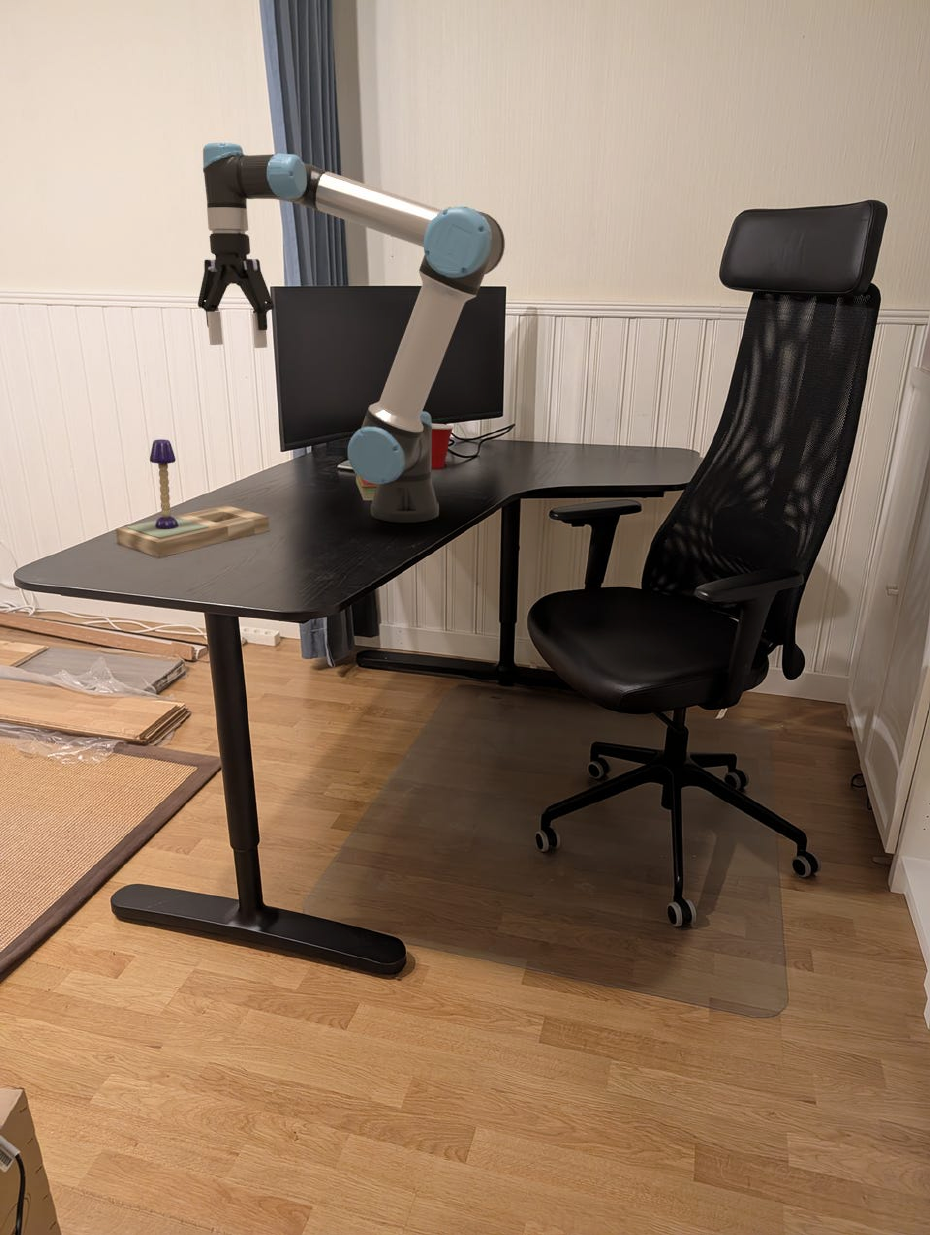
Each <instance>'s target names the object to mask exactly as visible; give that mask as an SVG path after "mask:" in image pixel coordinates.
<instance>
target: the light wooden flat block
mask: <svg viewBox="0 0 930 1235" xmlns="http://www.w3.org/2000/svg"><path fill="white" fill-rule="evenodd" d="M172 517H173V518H175V519H176V521H177V523H178V526H177V527H175V528H169V529H162V528H157V527H156V526H155V524H156V521H157V520H158V519H155V520H150V521H145V522H140V523H135V524H131V525H127V526H123V527H117V528H115V532H116V533H115V534H116V542H117V544H119V545H121V546H124V547H127V548H129V549H132V550H135V551H138V552H141V553H144V554H147V555H149V556H153V557H155V558H159V559H160V558H165V557H167V556H168V557H170V556H172V555H176V554H181V553H184V552H189V551H193V550H197V549H201V548H205V547H208V546H212V545H216V544H221V543H225V542H229V541H233V540H236V539H238V540H239V539H241V538H245V537H250V536H254V535H257V534H261V533H265V532H270V520H269V516H268V515H264V514H260V513H256V512H252V511H248V510H246V509H241V508H237V507H234V506H230V505H222V506H216V507H211V508H206V509H202V510H197V511H193V512H188V513H182V514H178V515H174V516H172Z"/></svg>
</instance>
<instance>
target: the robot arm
mask: <svg viewBox="0 0 930 1235" xmlns="http://www.w3.org/2000/svg"><path fill="white" fill-rule="evenodd" d="M202 159H203V161H202V163H203V167H202V171H203V175H204V183H205V184H204V186H205V195H206V204H207V205H206V208H207V209H206V211H207V225H208V230H209V231H212V233H210V235H209V243H210V253H211V254H212V255H215V259H205V260H204V261H203V263H204V264H203V265H204V266H203V268H204V269H203V270H204V272H203V275H202V276H203V277H202V282H201V285H200V292H199V296H198V301H197V306H198V308H199V309H200V308H201V309H203V310H204V312H205V314H206V316H205V317H206V325H207V328H208V337H209V345H210V346H218V345H219V346H221V345H223V344H224V342H223V331H222V330H223V329H222V319H221V311H220V309H219V306H220V303H221V302H222V298H223V297H224V294H225V292H226V290H227V288H228V286H230V284H231V285H233V284H234V285H235V284H236V286H238V287H240V289H241V291H242V292H243V294H244V296H245V297H246V299H247V301H248V302H249V305H250V306H251V307H252V309H253V310H252V313H251V318H252V319H251V320H252V331H253V333H252V334H253V346H254V349H263V348H268V338H267V336H268V335H267V330H268V316H267V314H268V312H269V311H271V310H274V309H275V304H274V302H273V299H272V297H271V294H270V291H269V288H268V287H267V286H268V285H267V284H266V280H265V278H264V276H263V273H262V270H261V262H260V260H259V259H258V258H248V255H249V254H250V253H251V246H250V244H251V243H250V236H249V234H247V233H246V232H247V231H249V222H248V221H249V220H248V208H247V207H248V205H247V204H248V203H247V202H248V201H247V200H254V199H255V200H257V199H258V200H267V199H268V200H277V201H281V202H288V203H289V202H290V203H292V204H293V203H294V204H297V205H298V204H299V205H301V206H304V207H307V208H310V209H313V210H316V211H319V212H322V213H325V214H328V215H331V216H333V217H337V218H340V219H342V220H344V221H347V222H350V223H352V224H353V223H354V224H357V225H359V226H363V227H365V228H368V229H370V230H374V231H376V232H379V233H382V234H384V235H387V236H390V237H393V238H396V239H398V240H402V241H405V242H407V243H410V244H413V245H416V246H419V247H422V248H423V253H424V256H423V258H422V260H421V264H420V266H419V269H418V274H419V276H420V279H421V281H422V284H421V287H420V290H419V292H418V295H417V298H416V301H415V304H414V306H413V309H412V312H411V314H410V317H409V320H408V323H407V325H406V328H405V331H404V334H403V337H402V339H401V342H400V344H399V347H398V350H397V353H396V355H395V358H394V361H393V363H392V365H391V369H390V371H389V374H388V377H387V380H386V382H385V385H384V388H383V391H382V393H381V396H380V398H379V401H376V402H375V403H372V404H370V405H369V406H368V409H367V411H366V415H365V418H364V419H363V422H362V424H361V428H359V429H357V431H355V433H354V434H352V436H351V438H350V440H349V442H348V445H347V459H348V462H349V464H350V466H351V468H352V470H353V472H354V473H355V475H356V474H357V475H358V476H359V477H360V478H362V479H363V480H365V481H367V482H370V483H373V484H377V487H376V490H375V494H374V499H373V500H371V504H370V515H371V517H372V518H374V519H376V520H379V521H383V522H384V521H385V522H389V523H400V524H401V523H402V524H403V523H405V524H406V523H408V524H409V523H411V524H412V523H422V522H427V521H431V520H434V519H436V518H438V517H439V514H440V512H439V511H440V506H439V505H440V504H439V502H438V501H437V498H436V494H435V489H434V486H433V482H432V469H431V447H432V424H433V422H432V416H431V414H430V413H429V412H428V411H423V410H424V407H425V405H426V402H427V400H428V399H429V395H430V393H431V390H432V388H433V384H434V382H435V380H436V376H437V374H438V372H439V370H440V367H441V364H442V363H443V359H444V357H445V354H446V352H447V350H448V347H449V344H450V341H451V339H452V337H453V334H454V331H455V329H456V326H457V323H458V321H459V319H460V316H461V313H462V311H463V309H464V307H465V303H467V301H470V300H472V299H474V298H476V297H477V294H478V292H479V291H480V290H479V289H480V288H481V285H482V283H483V280H484V278H485V275H487V274H490V273H491V272H492V271H493V270H495V269H496V268H497V267H498V265H499V264H500V262H501V261H502V259H503V256H504V252H505V247H506V245H505V243H506V241H505V234H504V231H503V229H502V227H501V225H500V224H499V222H498V220H496V219H495V218H494V217H492V216H491V215H490V214H488V213H485V212H482V211H478V210H476V209H475V208H470V207H468V206H462V205H461V206H453V207H451V206H448V207H447V208H444V209H443V210H442V209H439V208H437V207H433V206H431V205H428V204H425V203H422V202H419V201H416V200H413V199H410V198H407V197H405V196H401V195H398V194H395V193H392V192H390V191H386V190H384V189H381V188H378V187H375V186H372V185H369V184H366V183H363V182H359V181H357V180H355V179H352V178H348V177H345V176H342V175H340V174H337V173H334V172H331V171H327V170H324V169H322V168H319V167H316V165H312V164H309V163H305V162H303V161H302V159H301V158H300V156H299V155H296V154H292V153H291V154H289V153H281V152H277V154H276V153H275V154H274V153H273V154H256V155H247V154H244V150H243V148H242V146H241V145H239V144H236V143H233V142H210V143H207V144H205V145H204V146H203V149H202Z"/></svg>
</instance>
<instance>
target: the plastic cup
mask: <svg viewBox="0 0 930 1235" xmlns="http://www.w3.org/2000/svg"><path fill="white" fill-rule="evenodd" d="M454 429H455V426H453V425H451V424H450V425H449V424H443V423H432V447H431V470H441V469H444V468H445V466H446V459H447V455H448V450H449V443H450V438H451V434H452V431H453V430H454Z"/></svg>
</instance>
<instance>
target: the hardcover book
mask: <svg viewBox="0 0 930 1235" xmlns="http://www.w3.org/2000/svg"><path fill="white" fill-rule="evenodd" d="M355 483H356V485H357V488H358V490H359V492H360V494H361V497H362V500H363V501H373V499H374V494H375V490H376V487H377V484H373V483H370V482H367V481H365V480H363V479H362V478H360V477H359V476H358V475H357V474H356V473H355Z"/></svg>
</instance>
